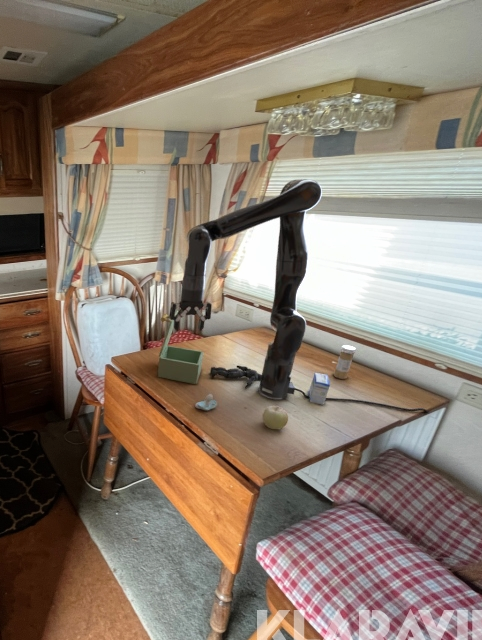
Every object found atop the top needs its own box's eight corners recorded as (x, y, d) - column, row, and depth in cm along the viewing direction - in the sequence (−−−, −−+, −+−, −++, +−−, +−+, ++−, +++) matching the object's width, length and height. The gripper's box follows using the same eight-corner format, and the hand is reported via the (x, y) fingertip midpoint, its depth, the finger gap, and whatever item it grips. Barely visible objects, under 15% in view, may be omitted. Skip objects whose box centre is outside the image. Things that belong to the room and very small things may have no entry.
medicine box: (308, 391, 137) (314, 372, 134) (322, 394, 135) (328, 374, 132) (309, 402, 131) (315, 381, 127) (324, 405, 129) (330, 384, 125)
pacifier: (191, 406, 129) (203, 414, 124) (192, 391, 127) (205, 398, 122) (205, 400, 132) (218, 408, 127) (207, 386, 130) (220, 393, 125)
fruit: (288, 435, 114) (293, 414, 111) (262, 431, 116) (267, 410, 112) (282, 421, 120) (287, 401, 117) (258, 417, 122) (263, 397, 119)
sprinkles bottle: (345, 375, 149) (355, 346, 143) (347, 380, 145) (356, 350, 140) (332, 373, 151) (341, 344, 145) (333, 377, 147) (342, 348, 142)
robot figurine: (213, 388, 141) (268, 392, 137) (214, 378, 140) (270, 381, 136) (208, 367, 157) (256, 370, 153) (209, 358, 156) (258, 361, 152)
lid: (178, 311, 149) (167, 307, 151) (172, 321, 138) (159, 317, 139) (167, 344, 157) (156, 340, 158) (160, 357, 145) (148, 352, 147)
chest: (201, 369, 154) (203, 351, 151) (196, 384, 143) (198, 365, 139) (165, 363, 160) (166, 345, 157) (157, 376, 149) (159, 357, 146)
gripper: (175, 289, 120) (171, 334, 127) (217, 289, 120) (211, 333, 127) (170, 284, 127) (166, 326, 134) (209, 283, 127) (204, 326, 134)
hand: (188, 330), depth 130 cm, fingers open, 8 cm apart
